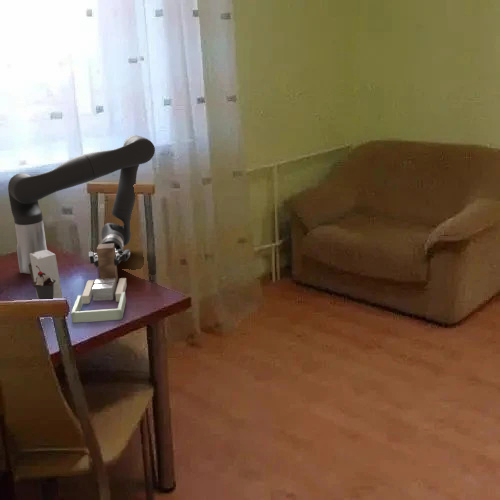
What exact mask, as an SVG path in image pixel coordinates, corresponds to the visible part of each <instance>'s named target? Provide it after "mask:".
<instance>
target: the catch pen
mask: <svg viewBox="0 0 500 500" xmlns="http://www.w3.org/2000/svg"><path fill="white" fill-rule="evenodd" d="M126 303H127V297H126V291H125V292H122V293H121V297H120V301H118V306H117V308H109V309H107V308H105V309H94V310H82V307H83V302H82V294H81V295H79V294H77V297H76V300H75V302H74V305H73V307H72V309H71V312H70V316H71V323H72V324H76V323H77V324H78V323H88V322H105V321H117V320H118V321H119V320H121V321H122V320H123V318H124V317H123V316H124V312H125V307H126V305H127V304H126Z"/></svg>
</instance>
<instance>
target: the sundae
mask: <svg viewBox="0 0 500 500" xmlns="http://www.w3.org/2000/svg"><path fill="white" fill-rule="evenodd" d="M36 267H37V268H39V267H38V266H36ZM39 270H40V269H39ZM55 282H56V280H53V279H51V278H50V277H49V276H48V275H47V274H46V273H42V272H41V271H40V272H39V273H38V277H37V278H36V280H35V282H34V281H33V282H31V285H32V287H34V288H35V292H36V291H37V294H36V296H37V295H38V298H39V299H53V295H54V283H55ZM38 298H37V299H38ZM39 299H38V300H39Z"/></svg>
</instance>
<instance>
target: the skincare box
mask: <svg viewBox="0 0 500 500" xmlns="http://www.w3.org/2000/svg"><path fill="white" fill-rule="evenodd" d="M30 260H31V265H32V271H33V277H34V281H33V282H35V280H36V278H37V277H38V273H39V272H40V271H41V272H42V273H46V274H47V275H48V276H49V277H50V278H51V279H53V280H56V282H55V283H54V295H53V298H63V299H64V297H63V296H64V295H63V292H62V286H61V280H60V275H59V274H60V273H59V268H58V267H59V266H58V261H57V256H56V254H55V253H53V252H52V251H50V250H48V249H47V250H42V251H38V252H34V253H30ZM36 266H38V267H39V268H37V267H36ZM39 269H40V270H39ZM35 293H36V299H38V300H39V298H38V295H37V291H36V290H35Z"/></svg>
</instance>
